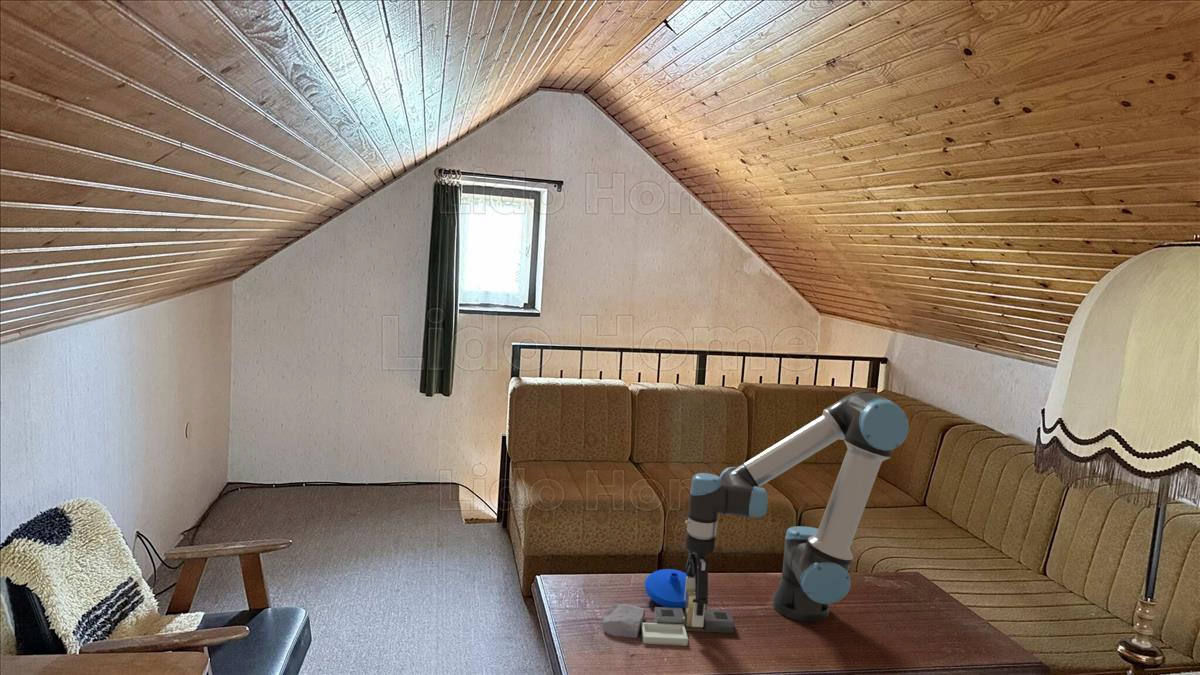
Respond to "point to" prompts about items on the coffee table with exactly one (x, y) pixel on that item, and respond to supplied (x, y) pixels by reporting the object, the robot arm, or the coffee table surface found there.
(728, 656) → the coffee table surface
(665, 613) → the rack rail
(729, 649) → the coffee table surface
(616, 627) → the stone block
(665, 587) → the blue funnel disc
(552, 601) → the coffee table surface
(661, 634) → the parts tray
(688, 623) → the wooden drawer with knob
